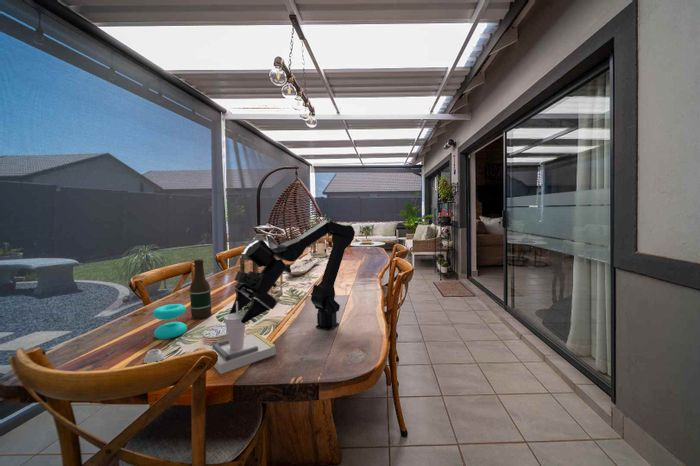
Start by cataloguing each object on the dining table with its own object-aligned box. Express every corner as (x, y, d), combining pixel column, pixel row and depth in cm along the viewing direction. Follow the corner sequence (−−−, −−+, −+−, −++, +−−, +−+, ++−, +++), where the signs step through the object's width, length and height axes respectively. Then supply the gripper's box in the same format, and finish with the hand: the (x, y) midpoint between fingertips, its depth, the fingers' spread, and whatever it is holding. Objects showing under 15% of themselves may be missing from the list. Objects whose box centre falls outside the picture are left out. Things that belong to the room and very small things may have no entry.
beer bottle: (215, 315, 125) (212, 259, 124) (197, 321, 119) (194, 261, 117) (204, 312, 129) (202, 257, 128) (187, 317, 123) (184, 260, 121)
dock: (256, 340, 99) (255, 329, 99) (275, 354, 89) (275, 343, 89) (205, 355, 89) (204, 344, 89) (220, 374, 78) (219, 361, 78)
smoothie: (248, 350, 87) (246, 303, 86) (225, 354, 84) (222, 306, 83) (247, 341, 92) (245, 297, 92) (225, 345, 90) (223, 300, 89)
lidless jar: (167, 356, 89) (150, 357, 89) (167, 346, 89) (149, 347, 89) (157, 364, 84) (139, 365, 84) (157, 354, 84) (139, 355, 84)
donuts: (153, 305, 107) (185, 301, 112) (155, 332, 107) (186, 327, 113) (151, 313, 98) (186, 308, 103) (153, 342, 99) (187, 336, 104)
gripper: (239, 257, 97) (205, 297, 90) (264, 263, 83) (226, 311, 76) (263, 277, 103) (232, 316, 96) (290, 286, 89) (257, 332, 82)
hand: (236, 318), depth 88 cm, fingers open, 9 cm apart
